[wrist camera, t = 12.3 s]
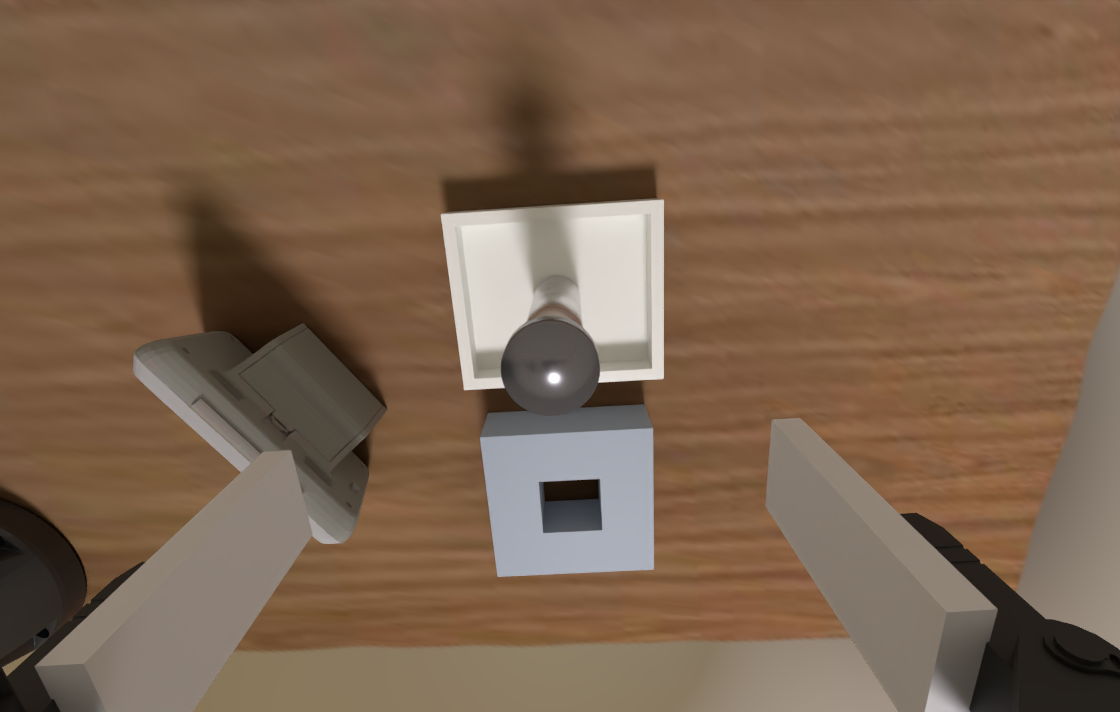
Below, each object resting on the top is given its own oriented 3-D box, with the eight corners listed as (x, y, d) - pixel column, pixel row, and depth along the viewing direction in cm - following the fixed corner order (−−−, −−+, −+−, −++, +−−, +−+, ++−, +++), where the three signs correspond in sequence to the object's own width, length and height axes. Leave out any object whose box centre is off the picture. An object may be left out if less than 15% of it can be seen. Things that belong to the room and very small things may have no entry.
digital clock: (199, 329, 38) (68, 383, 28) (300, 274, 37) (200, 311, 27) (326, 499, 43) (253, 598, 33) (420, 456, 41) (373, 546, 31)
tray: (470, 377, 39) (464, 390, 37) (449, 211, 35) (440, 214, 33) (657, 366, 39) (663, 378, 36) (657, 198, 35) (663, 199, 32)
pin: (517, 277, 36) (486, 339, 23) (578, 258, 35) (583, 310, 22) (537, 335, 37) (519, 426, 24) (596, 317, 37) (611, 401, 23)
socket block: (503, 542, 44) (497, 576, 40) (487, 412, 40) (479, 437, 36) (646, 535, 44) (653, 569, 40) (644, 404, 40) (653, 428, 36)
